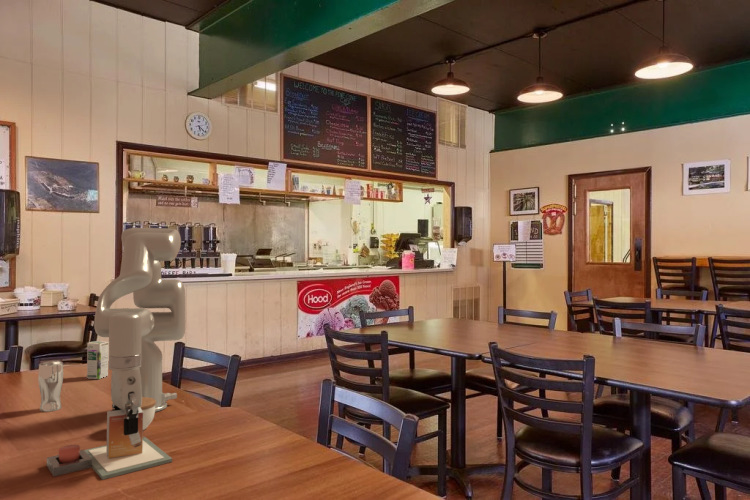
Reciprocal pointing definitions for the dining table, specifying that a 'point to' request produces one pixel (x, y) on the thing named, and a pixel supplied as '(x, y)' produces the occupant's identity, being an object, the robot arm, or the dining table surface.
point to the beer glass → (50, 385)
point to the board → (126, 460)
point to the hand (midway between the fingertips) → (124, 428)
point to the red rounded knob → (69, 453)
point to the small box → (116, 438)
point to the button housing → (68, 464)
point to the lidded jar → (147, 410)
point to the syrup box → (97, 359)
